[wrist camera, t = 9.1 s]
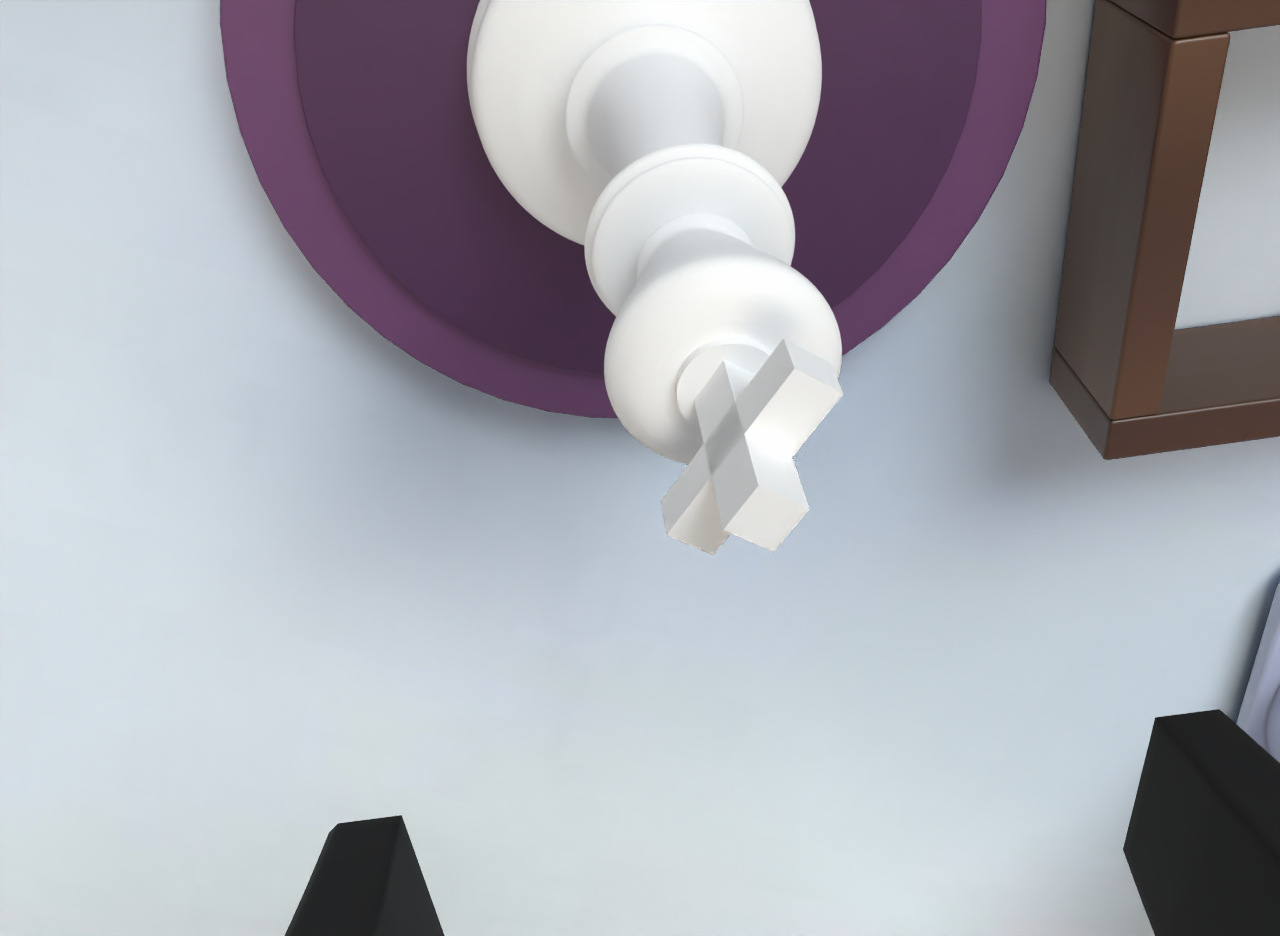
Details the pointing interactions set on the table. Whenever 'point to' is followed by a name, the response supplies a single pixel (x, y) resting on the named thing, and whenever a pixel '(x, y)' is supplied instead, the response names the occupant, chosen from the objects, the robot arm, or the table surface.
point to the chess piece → (678, 226)
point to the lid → (555, 266)
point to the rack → (1154, 241)
